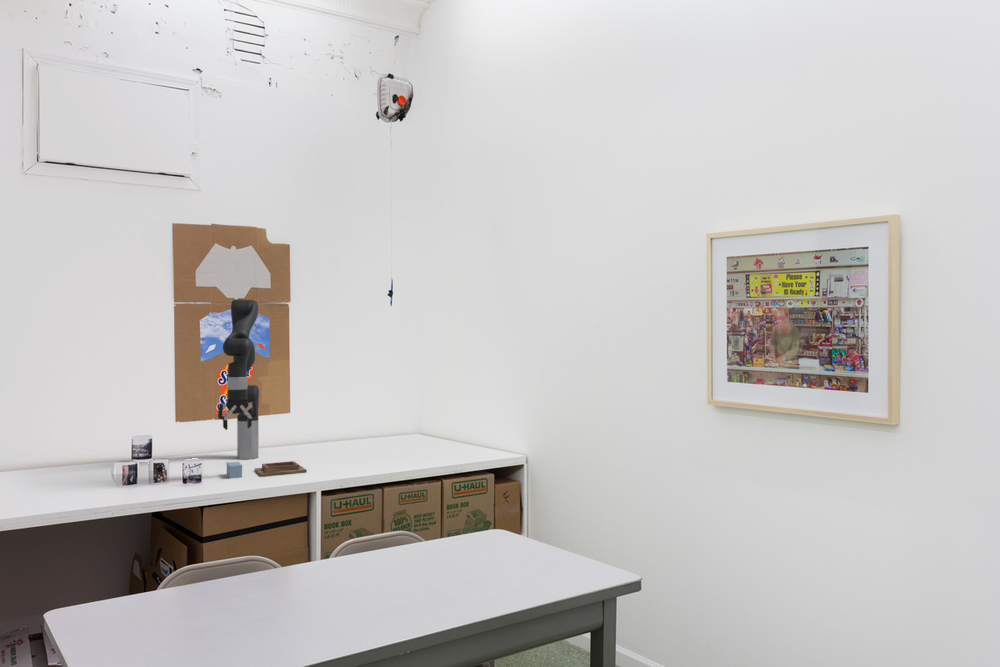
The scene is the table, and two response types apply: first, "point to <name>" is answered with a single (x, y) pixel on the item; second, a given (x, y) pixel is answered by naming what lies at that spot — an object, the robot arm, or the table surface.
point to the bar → (234, 470)
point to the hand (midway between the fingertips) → (237, 428)
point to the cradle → (280, 469)
